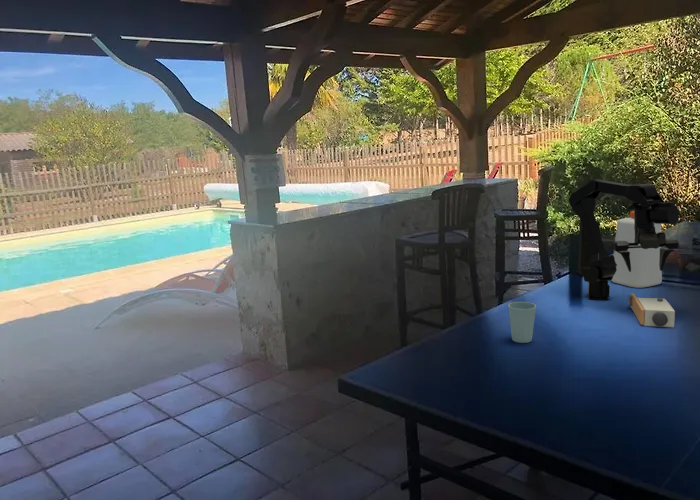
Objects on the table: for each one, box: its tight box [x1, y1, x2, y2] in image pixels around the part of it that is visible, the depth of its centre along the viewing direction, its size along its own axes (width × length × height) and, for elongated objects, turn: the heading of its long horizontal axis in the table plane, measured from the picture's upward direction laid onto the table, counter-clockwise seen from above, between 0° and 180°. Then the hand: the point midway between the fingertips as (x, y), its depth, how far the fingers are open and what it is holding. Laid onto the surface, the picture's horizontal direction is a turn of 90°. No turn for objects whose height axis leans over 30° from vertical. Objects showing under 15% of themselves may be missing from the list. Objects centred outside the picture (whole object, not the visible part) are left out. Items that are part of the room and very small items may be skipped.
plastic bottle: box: [610, 210, 663, 289], centre depth 220 cm, size 15×15×28 cm
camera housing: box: [637, 297, 676, 328], centre depth 177 cm, size 8×15×6 cm, turn 162°
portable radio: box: [577, 220, 601, 277], centre depth 236 cm, size 8×6×25 cm
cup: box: [507, 301, 537, 344], centre depth 165 cm, size 8×8×10 cm
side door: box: [627, 292, 645, 326], centre depth 182 cm, size 2×20×5 cm, turn 162°
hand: (645, 271), depth 186 cm, fingers open, 9 cm apart
